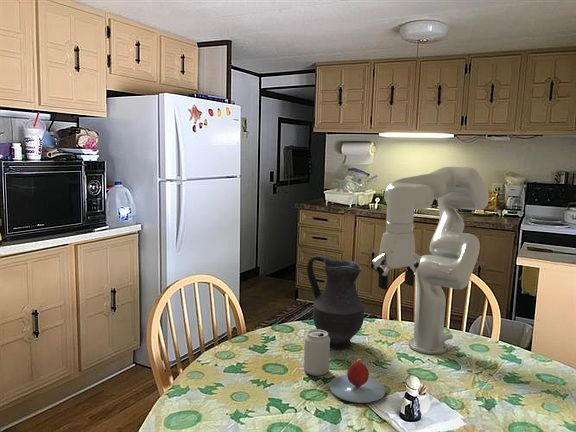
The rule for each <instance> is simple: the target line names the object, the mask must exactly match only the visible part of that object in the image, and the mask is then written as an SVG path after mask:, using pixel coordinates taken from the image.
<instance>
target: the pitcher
mask: <svg viewBox="0 0 576 432" xmlns="http://www.w3.org/2000/svg"><path fill="white" fill-rule="evenodd" d="M316 260H320V261H322V263H323V267H324V269H325V270H324V271H325V272H326V283H325V286H324V289H323V291H322V293H321V290H320V287H319V284H318V281H317V278H316V276H315V272H314V262H315V261H316ZM362 270H363V269H362V267H361V266H360V265H359V264H358V263H356V261H354V260H345V259H329V257H328V256H327V255H324V254H319V255H318V254H317V255H314V256H311V257H310V258H309V260H308V261H307V264H306V273H307V277H308V281H309V283H310V284H309V285H310V287H311V290H312V294H313V296H314V303H313V306H312V307H313V308H312V316H313V317H312V319H313V323H314V326H315V329H319V330H324V331H326V332H327V333H328V336H329V337H330V350H333V351H345V350H348V349H350V348H351V347H352V346H353V344H352V341H351V340H352V338H354V337H355V336H356V335H357V334H358V333H359V332H360V330H361V328H362V327H363V323H364V319H365V307H364V305H363V302H362V301H361V300H360V297H359V295H358V291H357V287H356V283H355V282H356V281H357V278H358V276H359V275H360V274H361V272H362Z"/></svg>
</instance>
